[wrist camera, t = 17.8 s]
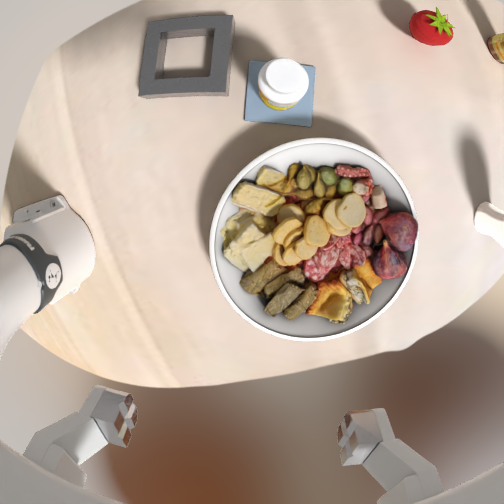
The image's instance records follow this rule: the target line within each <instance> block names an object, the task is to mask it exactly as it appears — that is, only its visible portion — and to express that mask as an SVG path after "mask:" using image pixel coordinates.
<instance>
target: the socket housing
mask: <svg viewBox="0 0 504 504" xmlns="http://www.w3.org/2000/svg"><path fill="white" fill-rule="evenodd" d="M234 29H235V21H234V17H233V15H213V16H195V17H183V18H174V19H166V20H159V21H152V22H149V23H148V28H147V34H146V39H145V46H144V52H143V59H142V67H141V75H140V85H139V95H138V96H140V97H143V98H146V99H151V98H164V97H184V96H228V95H229V82H230V71H231V60H232V49H233V39H234ZM194 36H214V41H213V50H212V59H211V69H210V77H184V78H168V79H162V77H163V68H164V60H165V52H166V45H167V39H171V38H181V37H194Z"/></svg>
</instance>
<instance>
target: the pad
mask: <svg viewBox="0 0 504 504" xmlns="http://www.w3.org/2000/svg"><path fill="white" fill-rule="evenodd" d="M266 63H267V62H266V61H249V72H248V84H247V97H246V110H245V121H254V122H268V123H279V124H289V125H298V126H307V127H311V126H312V113H313V98H314V82H315V67H312V66H305V65H301V66H302V67H303V68H304V69H305V71H306V72H307V75H308V78H309V86H308V89H307V91H306V93H305V95H304V96H303V97H302V98H301V99H300V101H299V102H298V103H297V104H296V105H295V106H294V107H292V108H291V109H288V110H284V111H277V110H273V109H271V108H269V107H267V106H266V105H265V104H264V103H263V102H262V100H261V98H260V95H259V87H258V75H259V72H260V70H261V68H262V67H263V66H264V65H265V64H266Z"/></svg>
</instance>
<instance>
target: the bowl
mask: <svg viewBox="0 0 504 504" xmlns="http://www.w3.org/2000/svg"><path fill="white" fill-rule="evenodd" d="M418 241H419V227H418V219H417V213H416V209H415V206H414V203H413V200H412V197H411V195H410V193H409V191H408V189H407V187H406V185H405V184H404V182H403V180H402V179H401V178H400V176H399V175H398V174H397V172H396V171H395V170H394V169H393V168H392V167H391V166H390V165H389V164H388V163H387V162H386V161H385V160H383V159H382V158H381V157H379V156H378V155H377V154H375V153H373V152H372V151H370V150H368V149H366V148H364V147H362V146H360V145H357V144H355V143H352V142H348V141H345V140H340V139H334V138H305V139H299V140H295V141H291V142H287V143H284V144H281V145H279V146H276V147H274V148H272V149H270V150H268V151H266V152H264V153H263V154H261V155H260V156H258V157H257V158H255V159H254V160H252V161H251V162H250V163H249V164H248V165H246V166H245V167H244V168H243V169H242V170H241V171H240V172H239V173H238V174H237V175H236V177H235V178H234V179H233V180H232V181H231V183H230V184H229V186H228V187H227V188H226V190H225V192H224V193H223V195H222V197H221V199H220V201H219V203H218V205H217V208H216V210H215V213H214V216H213V220H212V224H211V229H210V238H209V252H210V261H211V266H212V270H213V274H214V277H215V280H216V282H217V284H218V287H219V289H220V291H221V292H222V294H223V296H224V297H225V299H226V300H227V302H228V303H229V304H230V305H231V307H232V308H233V309H234V310H235V311H236V312H237V313H238V314H239V315H240V316H241V317H242V318H244V319H245V320H246V321H247V322H249V323H250V324H252V325H253V326H255V327H257V328H258V329H260V330H262V331H264V332H266V333H269V334H271V335H274V336H277V337H280V338H285V339H289V340H296V341H320V340H327V339H332V338H336V337H340V336H343V335H346V334H349V333H351V332H354V331H356V330H358V329H360V328H362V327H363V326H365V325H367V324H368V323H370V322H371V321H373V320H374V319H376V318H377V317H378V316H379V315H381V314H382V313H383V312H384V311H385V310H386V309H387V308H388V307H389V306H390V305H391V304H392V303H393V302H394V300H395V299H396V298H397V297H398V295H399V294H400V292H401V291H402V289H403V288H404V286H405V284H406V282H407V281H408V279H409V276H410V274H411V272H412V269H413V266H414V263H415V259H416V255H417V250H418Z"/></svg>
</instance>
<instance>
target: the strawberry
mask: <svg viewBox="0 0 504 504" xmlns="http://www.w3.org/2000/svg"><path fill="white" fill-rule="evenodd" d="M409 28H410V31H411V33H412V35H413V37H414V38H415V39H416V40H418V41H419V42H421V43H424V44H427V45H432V46H435V45H445V44H447V43H448V42H449V41H450V40H451V39H452V37H453V30H452V28H455V27H453V26H452V25H451V24H450V23H449V22H448V15H447V20H446V19H445V15H443V16H441V14H440V12H439V10H438V8H437V7H436V13H435V12H433V11H429V10H423V11H419V12H417V13H415V14H414V15H413V16H412V18H411V20H410V23H409Z"/></svg>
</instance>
